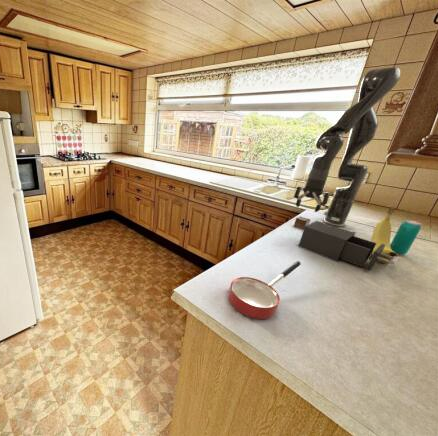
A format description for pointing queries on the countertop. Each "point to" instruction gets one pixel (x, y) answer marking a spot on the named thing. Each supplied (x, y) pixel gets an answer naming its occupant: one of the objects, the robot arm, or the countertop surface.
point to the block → (301, 222)
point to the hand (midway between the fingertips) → (306, 209)
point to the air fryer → (325, 239)
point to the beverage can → (405, 237)
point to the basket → (363, 252)
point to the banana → (384, 237)
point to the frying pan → (256, 295)
